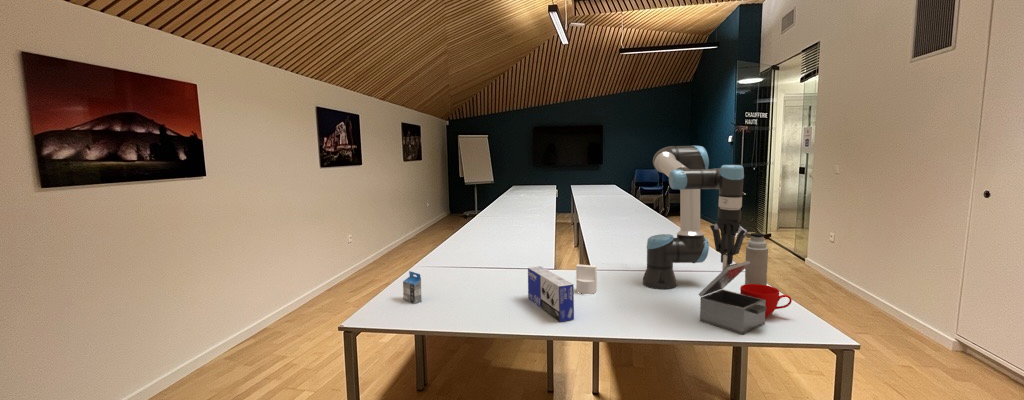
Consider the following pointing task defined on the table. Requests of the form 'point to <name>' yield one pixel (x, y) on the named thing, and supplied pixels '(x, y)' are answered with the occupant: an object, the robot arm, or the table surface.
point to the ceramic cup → (765, 296)
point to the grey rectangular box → (732, 311)
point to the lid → (724, 278)
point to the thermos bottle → (756, 260)
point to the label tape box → (412, 288)
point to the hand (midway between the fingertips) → (725, 272)
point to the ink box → (551, 293)
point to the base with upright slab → (586, 279)
